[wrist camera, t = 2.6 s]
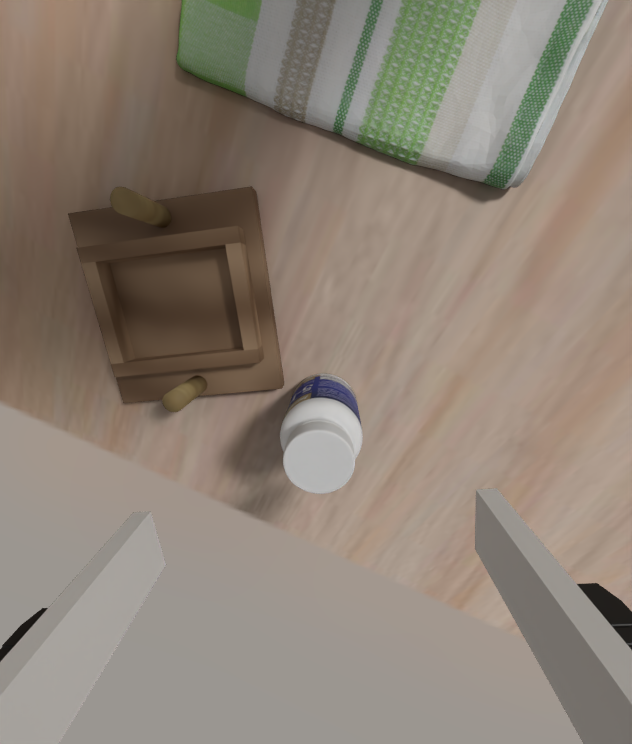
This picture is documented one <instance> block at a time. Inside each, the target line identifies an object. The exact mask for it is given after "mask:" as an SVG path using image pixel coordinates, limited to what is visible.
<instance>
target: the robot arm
mask: <svg viewBox="0 0 632 744" xmlns="http://www.w3.org/2000/svg"><path fill="white" fill-rule="evenodd" d="M475 550H476V551H477V553H478V555H479V557H480V559H481V560H482V562H483V564H484V566H485V568H486V569H487V571H488V573H489V575H490V577H491V578H492V580H493V582H494V584H495V586H496V587H497V589H498V591H499V593H500V595H501V596H502V598H503V600H504V602H505V604H506V605H507V607H508V609H509V611H510V612H511V614H512V616H513V618H514V620H515V621H516V623H517V625H518V627H519V629H520V630H521V632H522V634H523V636H524V638H525V639H526V641H527V643H528V645H529V647H530V648H531V650H532V652H533V654H534V655H535V657H536V659H537V661H538V663H539V665H540V666H541V668H542V670H543V672H544V673H545V675H546V677H547V679H548V680H549V682H550V684H551V686H552V688H553V690H554V691H555V693H556V695H557V697H558V699H559V701H560V702H561V704H562V706H563V708H564V710H565V711H566V713H567V715H568V717H569V718H570V720H571V722H572V724H573V726H574V727H575V729H576V731H577V733H578V735H579V736H580V738H581V740H582V742H583V744H632V612H631V611H630V609H629V608H628V607H627V606H626V605H625V604H624V603H623V602H622V601H621V600H620V599H618V598H617V597H615V596H614V595H613V594H611V593H610V592H608V591H607V590H606V589H604V588H603V587H601V586H600V585H599V584H597V583H591V584H576V583H575V582H574V580H573V579H572V578H571V577H570V576H569V574H568V573H567V572H566V571H565V570H564V568H563V567H562V566H561V565H560V564H559V562H558V561H557V560H556V559H555V558H554V556H553V555H552V554H551V553H550V552H549V550H548V549H547V548H546V547H545V546H544V544H543V543H542V542H541V541H540V540H539V538H538V537H537V536H536V535H535V534H534V532H533V531H532V530H531V529H530V528H529V526H528V525H527V524H526V523H525V522H524V520H523V519H522V518H521V517H520V516H519V515H518V513H517V512H516V511H515V510H514V509H513V507H512V506H511V505H510V504H509V503H508V501H507V500H506V499H505V498H504V497H503V495H502V494H501V493H500V492H499V491H498V489H497V488H495V489H480V490H476V518H475ZM165 566H166V563H165V559H164V556H163V552H162V549H161V546H160V542H159V538H158V535H157V532H156V528H155V525H154V521H153V518H152V515H151V512H135V513H133V514H132V515H131V516H130V517H129V518H128V519H127V520H126V521H125V522H124V523H123V525H122V526H121V527H120V528H119V529H118V530H117V531H116V532H115V534H114V535H113V536H112V537H111V538H110V539H109V540H108V541H107V543H106V544H105V545H104V546H103V547H102V548H101V549H100V550H99V552H98V553H97V554H96V555H95V556H94V557H93V558H92V559H91V561H90V562H89V563H88V564H87V565H86V566H85V567H84V568H83V570H82V571H81V572H80V573H79V574H78V575H77V576H76V577H75V579H74V580H73V581H72V582H71V583H70V584H69V585H68V586H67V588H66V589H65V590H64V591H63V592H62V593H61V594H60V595H59V597H58V598H57V599H56V600H55V601H54V602H53V603H52V604H51V606H50V607H49V608H42V609H41V610H40V611H38V612H37V613H36V614H35V615H33V616H32V617H31V618H30V619H28V620H27V621H26V622H25V623H23V624H22V625H21V626H20V627H19V628H18V629H17V630H16V631H15V632H14V633H13V635H12V636H11V637H10V638H9V639H8V640H7V641H6V642H5V643H4V644H3V645H2V648H1V649H0V744H59V742H60V741H61V739H62V737H63V735H64V734H65V732H66V731H67V729H68V728H69V726H70V724H71V723H72V721H73V719H74V717H75V716H76V714H77V712H78V711H79V709H80V707H81V706H82V704H83V703H84V701H85V699H86V698H87V696H88V694H89V692H90V691H91V689H92V687H93V686H94V684H95V683H96V681H97V679H98V677H99V676H100V674H101V673H102V671H103V669H104V668H105V666H106V664H107V662H108V661H109V659H110V657H111V656H112V654H113V653H114V651H115V649H116V648H117V646H118V644H119V643H120V641H121V639H122V638H123V636H124V634H125V632H126V631H127V629H128V627H129V626H130V624H131V622H132V621H133V619H134V617H135V616H136V614H137V613H138V611H139V609H140V608H141V606H142V604H143V603H144V601H145V599H146V598H147V596H148V594H149V593H150V591H151V589H152V588H153V586H154V584H155V583H156V580H157V579H158V577H159V576H160V574H161V573H162V571H163V569H164V568H165Z"/></svg>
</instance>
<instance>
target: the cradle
mask: <svg viewBox="0 0 632 744" xmlns="http://www.w3.org/2000/svg"><path fill="white" fill-rule="evenodd" d="M110 201H111V205H112V207H110V208H103V209H96V210H89V211H82V212H76V213H69V214H68V215H69V219H70V222H71V226H72V229H73V233H74V236H75V239H76V243H77V246H78V248H77V251H78V254H79V258H80V261H81V265H82V268H83V271H84V275H85V278H86V282H87V285H88V288H89V292H90V295H91V299H92V302H93V305H94V309H95V312H96V315H97V319H98V322H99V326H100V329H101V332H102V336H103V339H104V343H105V346H106V349H107V353H108V356H109V360H110V363H111V366H112V370H113V373H114V377H116V379H117V382H118V386H119V389H120V393H121V396H122V399H123V403H130V402H140V401H151V400H162V402H163V405H164V407H165V408H166V409H167V410H168V411H170V412H178V411H180V410H181V409H182V408H184V407H185V406H186V405H187V404H189V403H190V402H191V401H192V400H194V399H195V398H196V397H197V396H205V395H216V394H227V393H238V392H249V391H259V390H270V389H281V388H282V387H283V385H284V378H283V371H282V365H281V358H280V351H279V344H278V337H277V330H276V324H275V317H274V310H273V303H272V296H271V290H270V283H269V276H268V269H267V262H266V256H265V249H264V242H263V235H262V228H261V222H260V215H259V208H258V201H257V194H256V191H255V190H254V189H253V187H245V188H238V189H232V190H225V191H218V192H211V193H205V194H198V195H191V196H184V197H177V198H171V199H164V200H157V201H152V200H150V199H148V198H146V197H144V196H142V195H140V194H137V193H135V192H133V191H131V190H129V189H127V188H125V187H117V188H115V189H114V190H113V191H112V193H111V196H110Z"/></svg>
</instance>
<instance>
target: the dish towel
mask: <svg viewBox="0 0 632 744" xmlns="http://www.w3.org/2000/svg"><path fill="white" fill-rule="evenodd" d="M607 2H608V0H182V8H181V17H180V28H179V48H178V53H177V58H176V60H177V63H178V65H179V66H180V67H181V68H182V69H183V70H185V71H187V72H190V73H191V74H193V75H195V76H197V77H199V78H201V79H203V80H205V81H207V82H209V83H212V84H215V85H218V86H220V87H223V88H226V89H228V90H231V91H233V92H235V93H238V94H241V95H243V96H246V97H248V98H250V99H252V100H254V101H256V102H259V103H261V104H264V105H266V106H268V107H270V108H272V109H274V110H275V111H277V112H279V113H281V114H283V115H285V116H287V117H291V118H293V119H295V120H297V121H301V122H303V123H307V124H310V125H313V126H316V127H319V128H322V129H324V130H327V131H331V132H335V133H338V134H341V135H342V136H344V137H346V138H348V139H351V140H353V141H355V142H357V143H360V144H362V145H364V146H366V147H369V148H372V149H374V150H376V151H378V152H381V153H384V154H386V155H388V156H391V157H395V158H397V159H399V160H401V161H404V162H407V163H409V164H411V165H420V166H423V167H427V168H432V169H436V170H440V171H443V172H446V173H450V174H452V175H455V176H458V177H462V178H465V179H470V180H474V181H480V182H483V183H485V184H488V185H491V186H494V187H497V188H500V189H507V188H508V187H509V186H511V187H514V188H515V187H518V186H519V185H520V184H521V183H522V182H523V181H524V180H525V178H526V177H527V175H528V174H529V172H530V170H531V168H532V166H533V164H534V162H535V159H536V158H537V156H538V154H539V152H540V151H541V149H542V147H543V145H544V143H545V140H546V137H547V136H548V134H549V132H550V130H551V128H552V126H553V124H554V121H555V119H556V116H557V114H558V111H559V109H560V106H561V104H562V102H563V100H564V98H565V96H566V94H567V92H568V90H569V88H570V85H571V83H572V80H573V78H574V75H575V73H576V71H577V68H578V65H579V63H580V61H581V59H582V57H583V55H584V53H585V50H586V48H587V45H588V43H589V41H590V39H591V37H592V35H593V33H594V31H595V29H596V26H597V24H598V22H599V20H600V18H601V15H602V13H603V11H604V9H605V6H606V4H607Z"/></svg>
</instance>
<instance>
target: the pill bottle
mask: <svg viewBox="0 0 632 744" xmlns="http://www.w3.org/2000/svg"><path fill="white" fill-rule="evenodd" d="M280 442H281V446H282V450H283V452H284V454H283V466H284V470H285V473H286V474H287V476H288V478H289V479H290V480H291V482H292V483H293V484H294V485H296V486H297V487H299V488H300V489H302V490H304V491H307V492H310V493H316V494H324V493H330V492H333V491H335V490H338V489H339V488H341V487H342V486H344V485H345V484H346V483H347V482H348V480H349V479H350V478H351V476H352V474H353V471H354V467H355V459H356V457H357V456H358V454H359V452H360V449H361V446H362V427H361V422H360V416H359V411H358V406H357V400H356V397H355V394H354V392H353V390H352V388H351V387H350V386H349V384H348V383H347V382H345V381H344V380H343V379H341V378H340V377H338V376H335V375H332V374H316V375H312V376H310V377H308V378H306V379H305V380H303V381H302V382H301V383H300V384H299V385H298V386H297V388H296V390H295V391H294V394H293V396H292V399H291V402H290V404H289V407H288V410H287V412H286V415H285V417H284V420H283V423H282V426H281V431H280Z"/></svg>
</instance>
